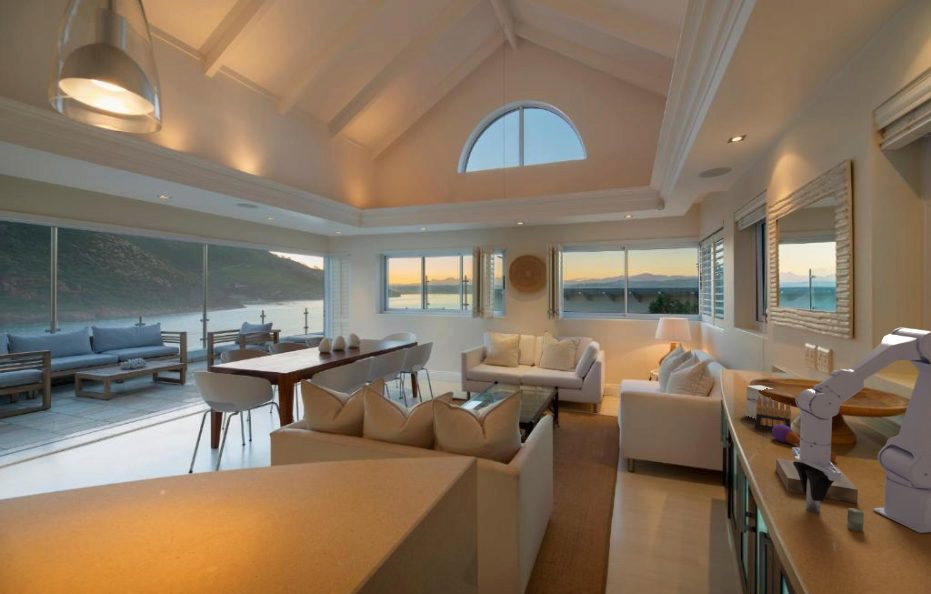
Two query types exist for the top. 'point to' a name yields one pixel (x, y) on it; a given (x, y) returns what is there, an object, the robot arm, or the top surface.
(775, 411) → the ammunition clip
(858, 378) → the robot arm
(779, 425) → the purple and brown maraca
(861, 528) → the green rectangular block
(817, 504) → the long pin
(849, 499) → the hole board
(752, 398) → the supplement box
